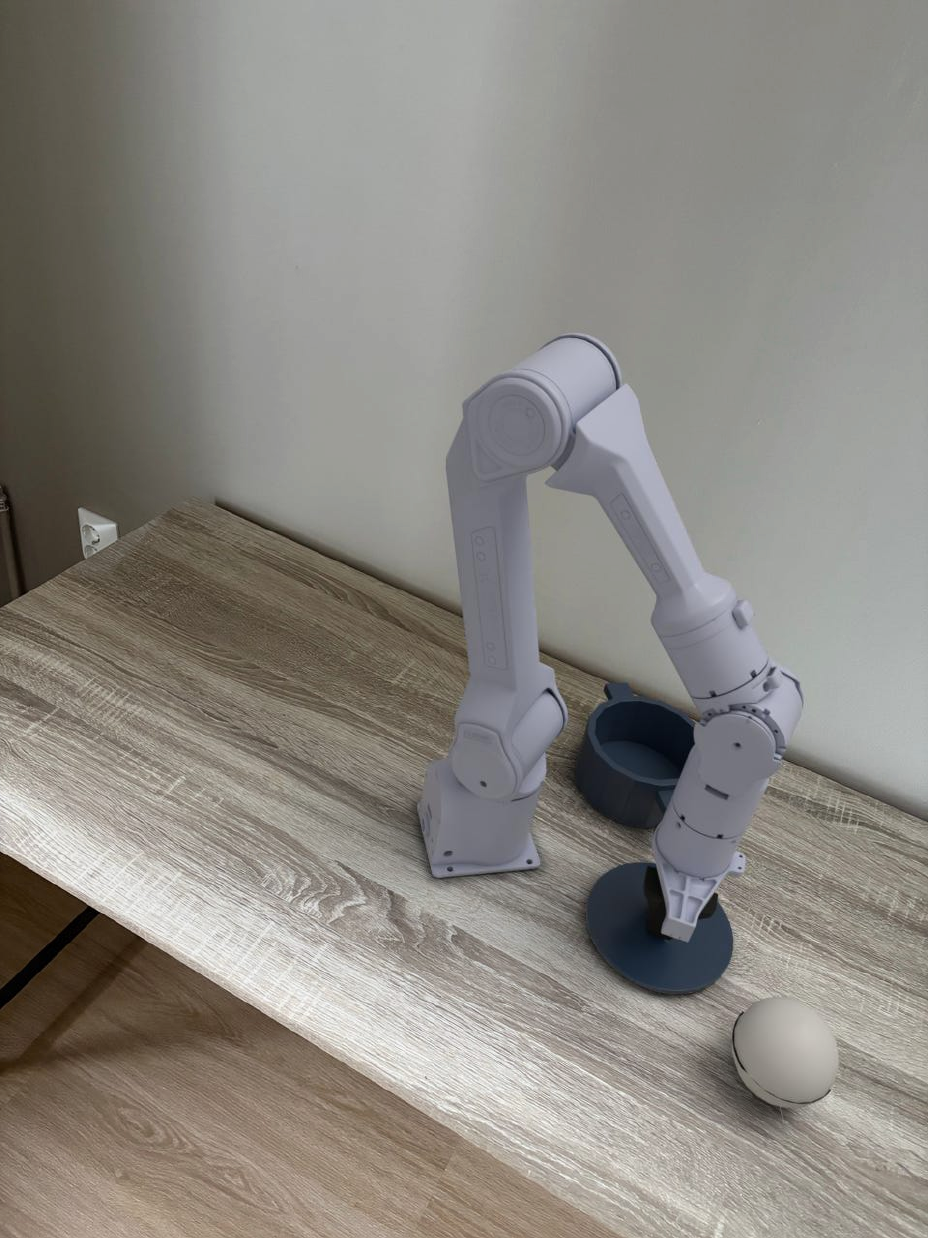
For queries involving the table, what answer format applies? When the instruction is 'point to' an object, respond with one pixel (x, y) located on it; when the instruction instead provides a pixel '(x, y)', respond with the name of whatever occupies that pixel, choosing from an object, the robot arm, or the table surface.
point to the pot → (633, 756)
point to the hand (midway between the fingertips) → (661, 918)
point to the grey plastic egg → (785, 1052)
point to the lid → (653, 937)
